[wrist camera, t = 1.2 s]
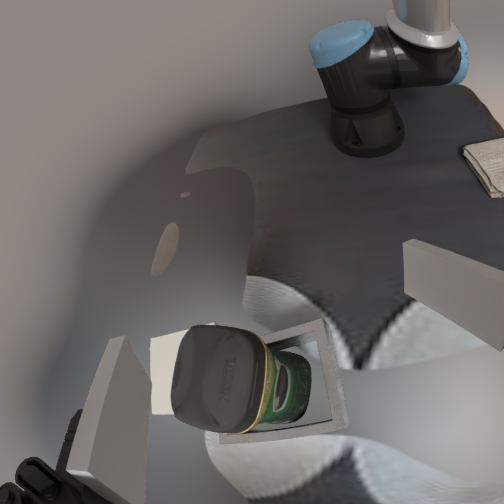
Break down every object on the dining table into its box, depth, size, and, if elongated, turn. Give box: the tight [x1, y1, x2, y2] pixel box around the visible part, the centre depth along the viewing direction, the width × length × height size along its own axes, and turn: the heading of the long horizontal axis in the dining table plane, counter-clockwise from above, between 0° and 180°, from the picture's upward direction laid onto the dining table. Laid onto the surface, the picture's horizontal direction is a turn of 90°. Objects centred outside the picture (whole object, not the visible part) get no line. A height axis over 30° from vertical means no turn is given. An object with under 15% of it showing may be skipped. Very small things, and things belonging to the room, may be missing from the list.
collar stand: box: [219, 318, 350, 444], centre depth 31 cm, size 13×15×4 cm
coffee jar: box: [170, 325, 311, 434], centre depth 26 cm, size 10×8×19 cm
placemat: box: [151, 322, 218, 414], centre depth 40 cm, size 14×14×1 cm
